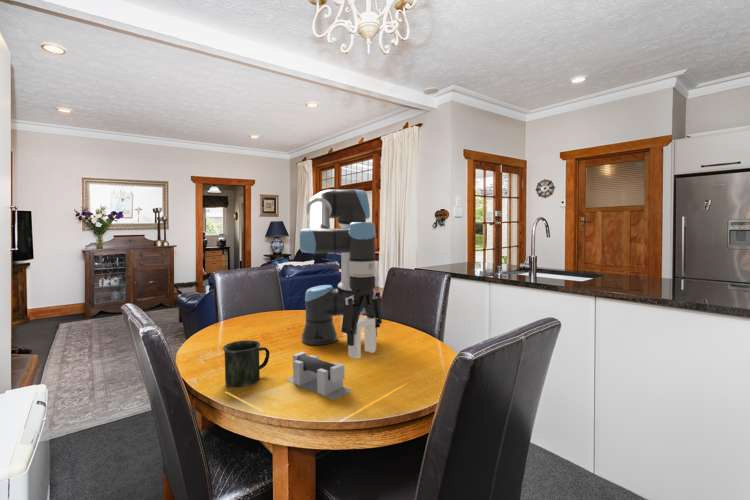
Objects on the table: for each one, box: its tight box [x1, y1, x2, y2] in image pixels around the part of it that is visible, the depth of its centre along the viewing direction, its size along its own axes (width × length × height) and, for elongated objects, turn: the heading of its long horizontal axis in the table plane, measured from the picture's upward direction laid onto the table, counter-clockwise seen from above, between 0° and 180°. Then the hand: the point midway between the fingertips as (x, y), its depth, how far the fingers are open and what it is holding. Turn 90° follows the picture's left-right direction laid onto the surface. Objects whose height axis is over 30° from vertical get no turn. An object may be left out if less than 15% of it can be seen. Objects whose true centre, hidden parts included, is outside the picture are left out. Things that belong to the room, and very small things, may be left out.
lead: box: [292, 351, 346, 383], centre depth 119 cm, size 19×4×4 cm, turn 51°
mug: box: [222, 339, 270, 388], centre depth 124 cm, size 11×15×12 cm
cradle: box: [285, 354, 354, 401], centre depth 120 cm, size 22×8×8 cm, turn 51°
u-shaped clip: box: [349, 316, 376, 360], centre depth 113 cm, size 3×8×10 cm, turn 141°
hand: (362, 352), depth 114 cm, fingers closed on u-shaped clip, 8 cm apart
